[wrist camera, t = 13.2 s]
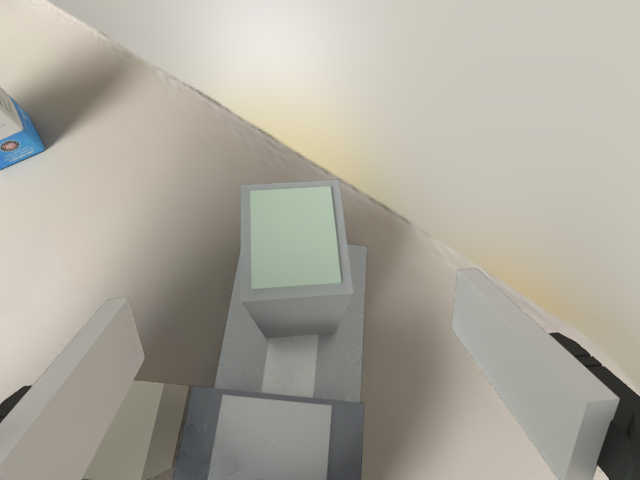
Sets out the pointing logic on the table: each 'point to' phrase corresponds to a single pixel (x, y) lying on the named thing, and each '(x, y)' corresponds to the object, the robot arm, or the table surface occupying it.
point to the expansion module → (294, 257)
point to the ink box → (16, 133)
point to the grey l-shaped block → (281, 400)
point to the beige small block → (141, 433)
